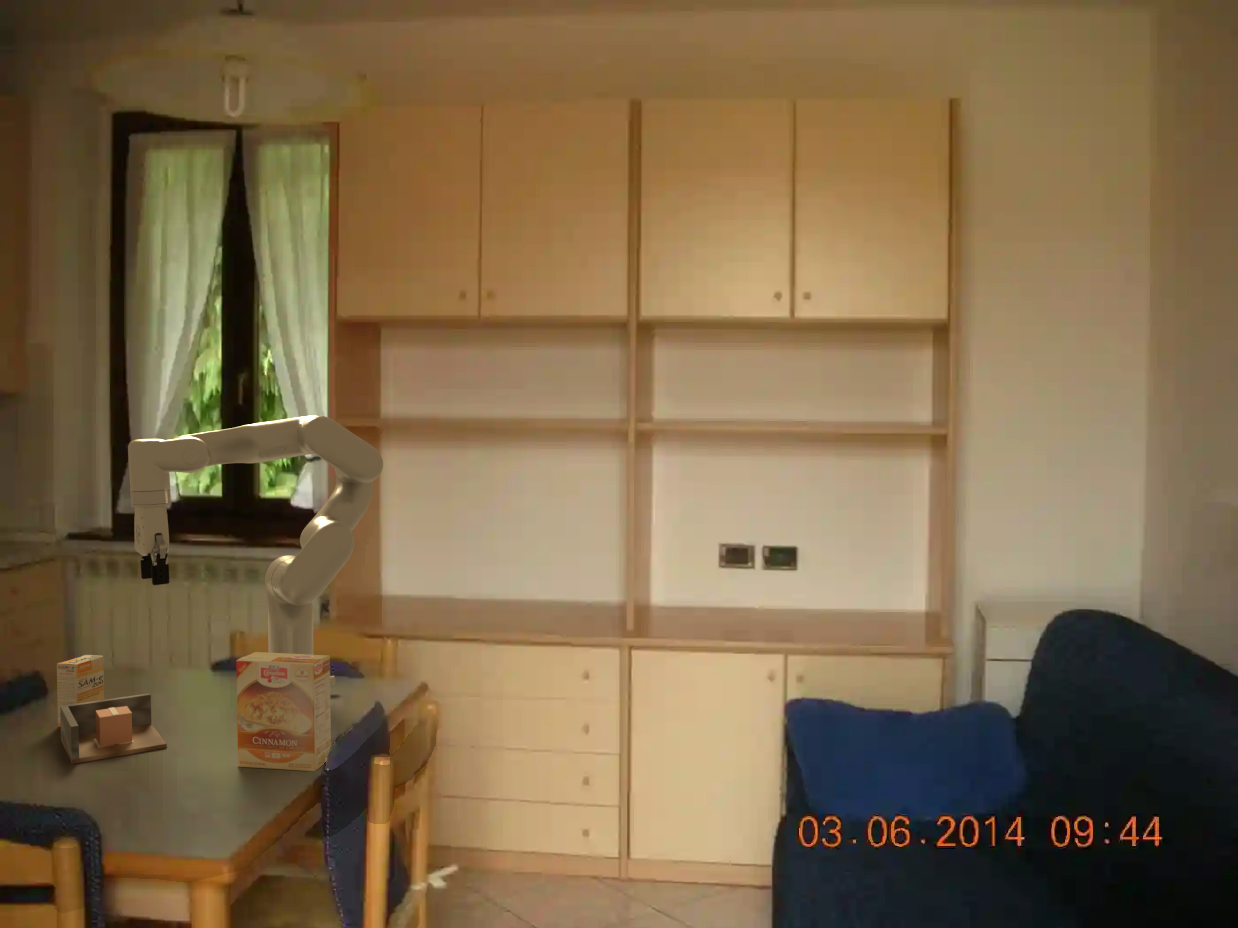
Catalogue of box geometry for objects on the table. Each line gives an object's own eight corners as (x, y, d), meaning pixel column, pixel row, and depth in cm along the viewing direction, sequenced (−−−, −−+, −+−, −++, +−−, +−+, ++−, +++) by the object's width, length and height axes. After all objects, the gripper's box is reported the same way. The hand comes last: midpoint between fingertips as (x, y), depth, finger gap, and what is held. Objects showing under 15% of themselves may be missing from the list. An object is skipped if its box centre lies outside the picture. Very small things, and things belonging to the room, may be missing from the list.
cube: (96, 738, 199) (95, 709, 199) (127, 733, 202) (126, 705, 202) (100, 746, 195) (99, 716, 194) (132, 741, 198) (131, 712, 197)
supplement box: (78, 728, 208) (76, 664, 208) (57, 727, 209) (55, 663, 209) (106, 717, 216) (104, 654, 216) (85, 715, 217) (84, 653, 217)
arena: (150, 726, 210) (149, 693, 210) (166, 747, 197) (165, 712, 196) (61, 740, 201) (60, 705, 201) (71, 763, 188) (70, 726, 187)
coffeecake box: (236, 767, 186) (234, 659, 185) (256, 754, 193) (255, 650, 192) (314, 772, 184) (313, 663, 183) (332, 759, 191) (331, 653, 190)
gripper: (122, 497, 219) (126, 578, 220) (140, 503, 205) (145, 589, 206) (160, 494, 223) (164, 573, 224) (180, 500, 209) (185, 584, 210)
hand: (155, 581), depth 215 cm, fingers open, 9 cm apart
